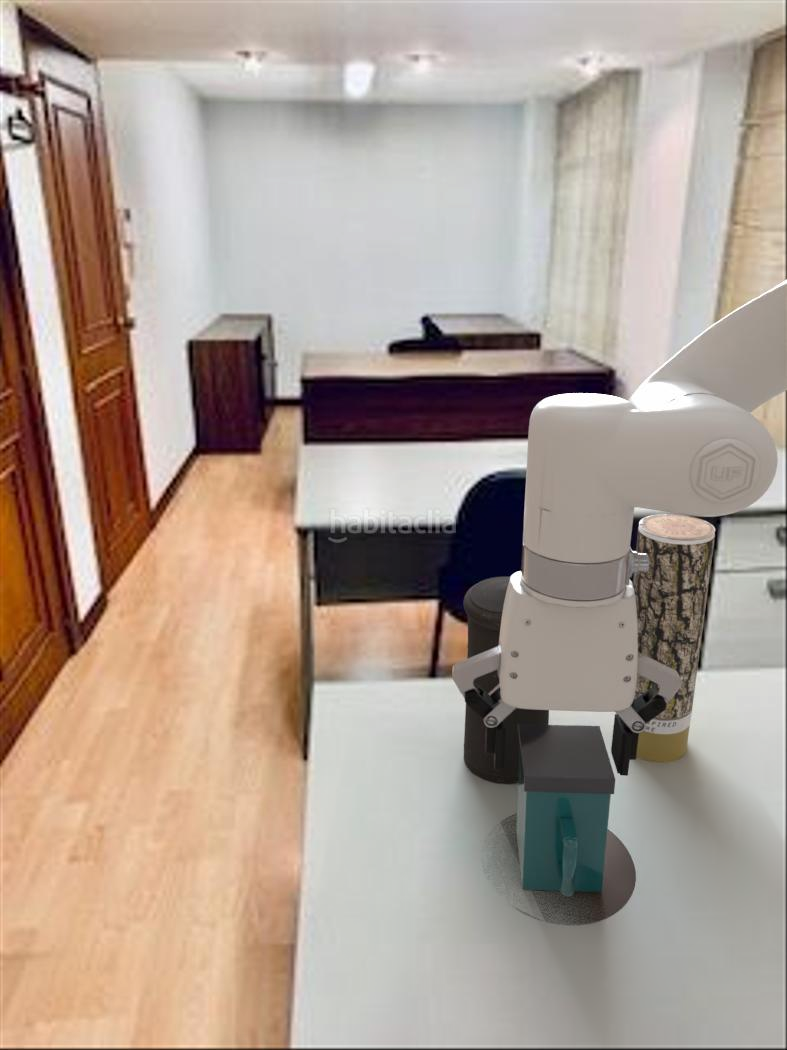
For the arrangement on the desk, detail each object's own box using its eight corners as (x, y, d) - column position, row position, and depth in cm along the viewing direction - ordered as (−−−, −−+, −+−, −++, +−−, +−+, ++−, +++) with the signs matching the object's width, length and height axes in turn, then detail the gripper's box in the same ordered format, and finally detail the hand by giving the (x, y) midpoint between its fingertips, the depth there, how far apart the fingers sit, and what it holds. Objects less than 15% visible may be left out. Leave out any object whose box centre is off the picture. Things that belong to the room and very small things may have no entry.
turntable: (618, 817, 71) (619, 810, 70) (652, 937, 58) (653, 929, 58) (478, 813, 72) (478, 806, 71) (482, 930, 59) (483, 922, 59)
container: (565, 778, 76) (577, 598, 69) (485, 803, 73) (489, 617, 66) (521, 730, 83) (527, 563, 76) (447, 751, 80) (446, 579, 73)
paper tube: (691, 772, 76) (723, 541, 67) (621, 765, 77) (643, 537, 69) (680, 731, 82) (707, 515, 74) (615, 726, 84) (634, 512, 75)
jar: (513, 830, 68) (517, 723, 64) (590, 833, 68) (599, 725, 64) (522, 917, 60) (527, 799, 56) (610, 920, 59) (622, 802, 55)
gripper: (681, 549, 58) (656, 737, 64) (454, 545, 59) (450, 730, 65) (712, 592, 51) (681, 798, 57) (454, 586, 52) (450, 789, 58)
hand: (558, 761), depth 61 cm, fingers open, 9 cm apart
